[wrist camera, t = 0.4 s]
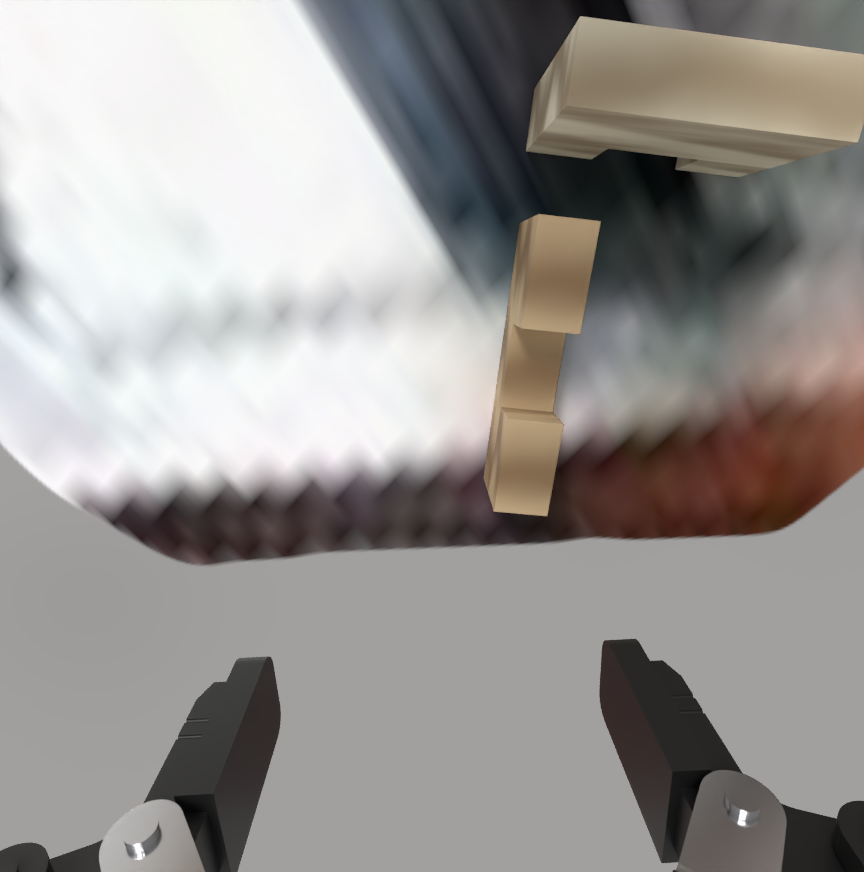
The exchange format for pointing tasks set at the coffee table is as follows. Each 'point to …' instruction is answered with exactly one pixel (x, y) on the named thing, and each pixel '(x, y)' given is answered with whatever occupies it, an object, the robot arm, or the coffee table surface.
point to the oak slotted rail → (536, 359)
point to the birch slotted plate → (695, 98)
